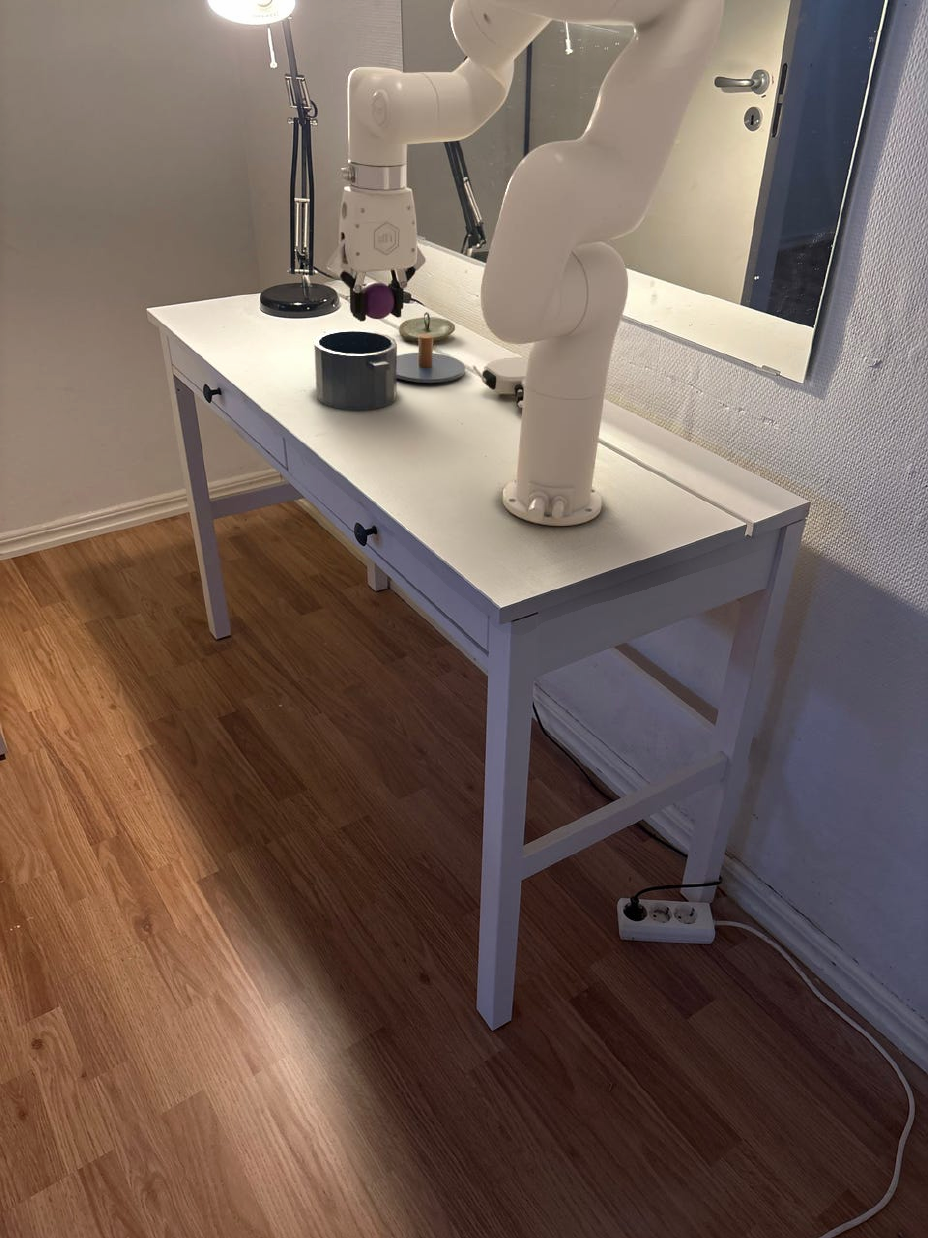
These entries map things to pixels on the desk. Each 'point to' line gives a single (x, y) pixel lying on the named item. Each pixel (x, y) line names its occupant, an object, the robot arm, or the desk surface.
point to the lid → (426, 327)
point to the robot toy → (506, 376)
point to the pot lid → (428, 364)
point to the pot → (355, 369)
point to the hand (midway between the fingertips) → (376, 315)
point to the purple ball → (378, 300)
